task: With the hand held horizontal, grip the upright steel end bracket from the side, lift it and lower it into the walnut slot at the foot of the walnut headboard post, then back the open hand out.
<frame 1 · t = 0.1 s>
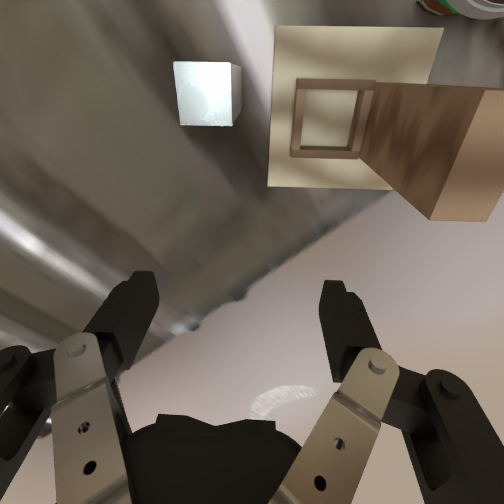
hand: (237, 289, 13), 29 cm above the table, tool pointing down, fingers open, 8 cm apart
walnut headboard post: (324, 117, 34), on the table
steel end bracket: (224, 88, 33), on the table
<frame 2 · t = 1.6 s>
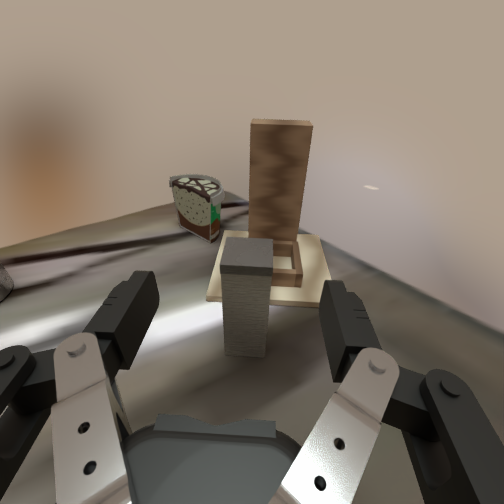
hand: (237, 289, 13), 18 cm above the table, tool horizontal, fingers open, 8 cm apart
walnut headboard post: (271, 272, 42), on the table
food container: (206, 229, 54), on the table
steel end bracket: (246, 339, 32), on the table
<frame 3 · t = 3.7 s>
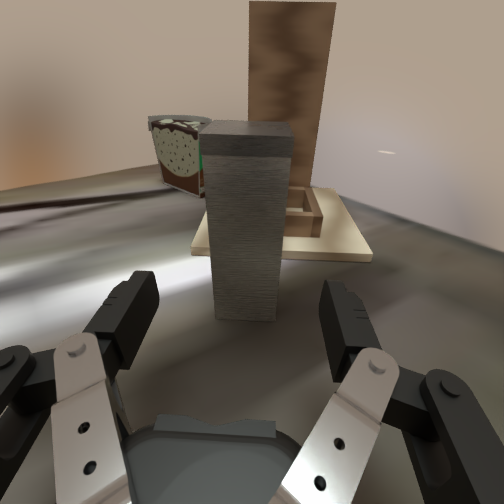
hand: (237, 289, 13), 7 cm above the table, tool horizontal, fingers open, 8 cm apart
walnut headboard post: (277, 225, 33), on the table
food container: (195, 186, 44), on the table
steel end bracket: (247, 299, 22), on the table
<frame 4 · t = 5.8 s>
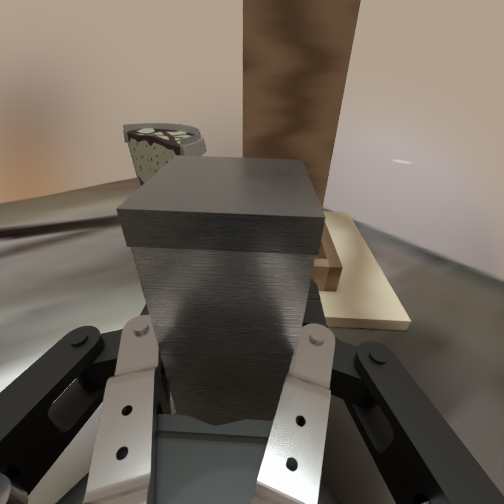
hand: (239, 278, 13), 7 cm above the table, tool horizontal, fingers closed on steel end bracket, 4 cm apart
walnut headboard post: (280, 267, 26), on the table
food container: (182, 207, 37), on the table
steel end bracket: (236, 404, 15), on the table, touching gripper
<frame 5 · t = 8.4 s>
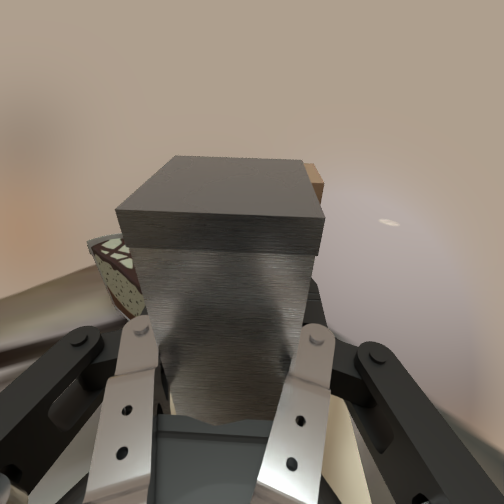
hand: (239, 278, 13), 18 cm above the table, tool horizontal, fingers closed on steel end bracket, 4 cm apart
walnut headboard post: (248, 423, 24), on the table
food container: (155, 312, 35), on the table
steel end bracket: (236, 405, 15), point 11 cm above the table, touching gripper
when the fingers open (9 cm above the table, at t = 11.2 s): steel end bracket drops 1 cm, resting on walnut headboard post.
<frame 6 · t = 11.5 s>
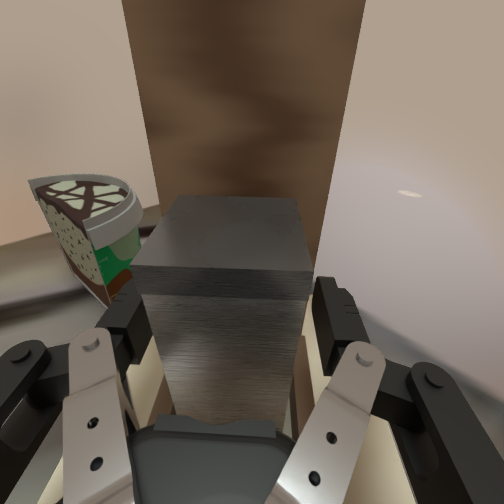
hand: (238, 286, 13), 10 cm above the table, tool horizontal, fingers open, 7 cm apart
walnut headboard post: (236, 425, 16), on the table
food container: (123, 281, 28), on the table
steel end bracket: (237, 418, 16), point 1 cm above the table, touching walnut headboard post
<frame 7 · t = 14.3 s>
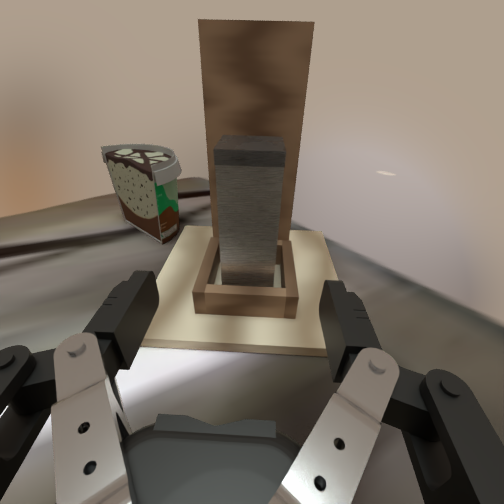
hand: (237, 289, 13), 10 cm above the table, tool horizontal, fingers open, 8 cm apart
walnut headboard post: (247, 290, 26), on the table
food container: (162, 225, 38), on the table
steel end bracket: (248, 283, 26), point 1 cm above the table, touching walnut headboard post
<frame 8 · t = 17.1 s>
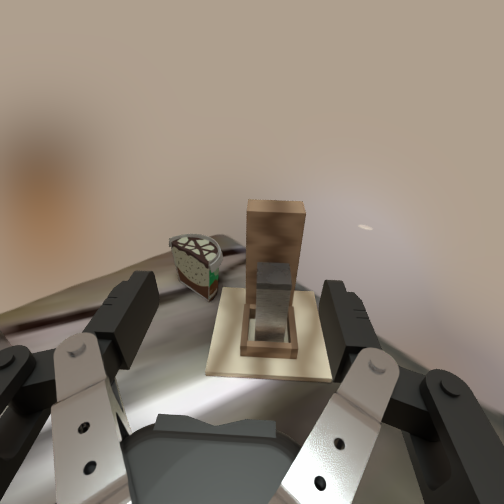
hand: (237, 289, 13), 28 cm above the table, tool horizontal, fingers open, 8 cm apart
walnut headboard post: (267, 338, 44), on the table
food container: (205, 284, 55), on the table
steel end bracket: (268, 334, 43), point 1 cm above the table, touching walnut headboard post
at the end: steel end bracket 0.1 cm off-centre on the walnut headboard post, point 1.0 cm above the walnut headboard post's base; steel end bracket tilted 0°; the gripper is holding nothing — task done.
